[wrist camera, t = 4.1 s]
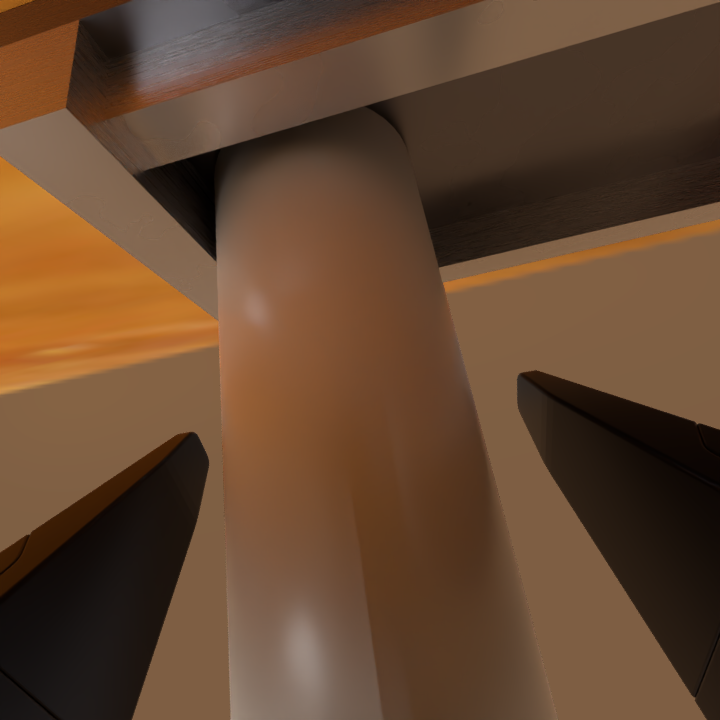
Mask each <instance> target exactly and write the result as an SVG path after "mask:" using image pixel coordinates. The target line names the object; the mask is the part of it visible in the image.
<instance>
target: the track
mask: <svg viewBox="0 0 720 720" xmlns="http://www.w3.org/2000/svg"><path fill="white" fill-rule="evenodd" d="M363 106H364V107H366V108H368V109H370V110H373V111H374V112H375V113H377V114H378V115H380V116H381V117H383V118H384V119H385V120H386V121H387V122H389V123H390V124H391V125H392V126H393V127H394V128H395V130H396V131H397V132H398V134H399V135H400V136H401V138H402V140H403V142H404V144H405V145H406V148H407V151H408V154H409V157H410V160H411V164H412V168H413V172H414V176H415V179H416V183H417V187H418V191H419V195H420V198H421V202H422V206H423V210H424V213H425V217H426V221H427V225H428V229H429V232H430V236H431V240H432V244H433V247H434V251H435V255H436V259H437V263H438V266H439V270H440V274H441V278H442V282H447V281H452V280H456V279H460V278H465V277H469V276H474V275H478V274H482V273H487V272H491V271H495V270H500V269H504V268H508V267H513V266H517V265H522V264H526V263H530V262H535V261H539V260H543V259H548V258H552V257H557V256H561V255H565V254H570V253H574V252H578V251H583V250H587V249H591V248H596V247H600V246H605V245H609V244H613V243H618V242H622V241H626V240H631V239H635V238H639V237H644V236H648V235H653V234H657V233H661V232H666V231H670V230H674V229H679V228H683V227H688V226H692V225H696V224H701V223H705V222H709V221H714V220H718V219H720V0H35V1H33V2H30V3H27V4H25V5H22V6H19V7H16V8H14V9H11V10H8V11H6V12H3V13H0V156H1V157H2V158H4V159H5V160H6V161H8V162H9V163H10V164H12V165H13V166H14V167H16V168H17V169H18V170H20V171H21V172H22V173H24V174H25V175H26V176H28V177H29V178H30V179H32V180H33V181H34V182H35V183H37V184H38V185H39V186H41V187H42V188H43V189H45V190H46V191H47V192H49V193H50V194H51V195H53V196H54V197H55V198H57V199H58V200H59V201H61V202H62V203H63V204H65V205H66V206H67V207H69V208H70V209H71V210H72V211H74V212H75V213H76V214H78V215H79V216H80V217H82V218H83V219H84V220H86V221H87V222H88V223H90V224H91V225H92V226H94V227H95V228H96V229H98V230H99V231H100V232H102V233H103V234H104V235H106V236H107V237H108V238H109V239H111V240H112V241H113V242H115V243H116V244H117V245H119V246H120V247H121V248H123V249H124V250H125V251H127V252H128V253H129V254H131V255H132V256H133V257H135V258H136V259H137V260H139V261H140V262H141V263H143V264H144V265H145V266H146V267H148V268H149V269H150V270H152V271H153V272H154V273H156V274H157V275H158V276H160V277H161V278H162V279H164V280H165V281H166V282H168V283H169V284H170V285H172V286H173V287H174V288H176V289H177V290H178V291H180V292H181V293H182V294H183V295H185V296H186V297H187V298H189V299H190V300H191V301H193V302H194V303H195V304H197V305H198V306H199V307H201V308H202V309H203V310H205V311H206V312H207V313H209V314H210V315H211V316H213V317H214V318H215V319H217V320H218V288H217V255H216V223H215V190H214V173H215V165H216V161H217V157H218V154H219V152H220V150H221V148H223V147H226V146H230V145H233V144H236V143H240V142H243V141H247V140H250V139H254V138H257V137H260V136H264V135H267V134H271V133H274V132H277V131H281V130H284V129H288V128H291V127H294V126H298V125H301V124H305V123H308V122H312V121H315V120H318V119H322V118H325V117H329V116H332V115H335V114H339V113H342V112H346V111H349V110H352V109H356V108H359V107H363Z"/></svg>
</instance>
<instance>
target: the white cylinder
mask: <svg viewBox="0 0 720 720" xmlns="http://www.w3.org/2000/svg"><path fill="white" fill-rule="evenodd" d="M214 190H215V223H216V255H217V288H218V321H219V351H220V385H221V418H222V447H223V448H222V450H223V484H224V513H225V514H224V517H225V549H226V580H227V581H226V582H227V612H228V645H229V646H228V647H229V679H230V712H231V720H558V717H557V713H556V709H555V705H554V701H553V698H552V694H551V690H550V686H549V683H548V679H547V675H546V671H545V667H544V664H543V660H542V656H541V652H540V649H539V645H538V641H537V637H536V634H535V630H534V626H533V622H532V618H531V614H530V611H529V607H528V603H527V599H526V596H525V592H524V588H523V584H522V581H521V577H520V573H519V569H518V565H517V562H516V558H515V554H514V551H513V546H512V543H511V539H510V535H509V531H508V528H507V524H506V520H505V516H504V513H503V509H502V505H501V501H500V497H499V494H498V490H497V486H496V482H495V478H494V475H493V471H492V467H491V463H490V459H489V456H488V452H487V448H486V444H485V440H484V437H483V433H482V429H481V425H480V422H479V418H478V414H477V410H476V406H475V403H474V399H473V395H472V392H471V387H470V384H469V380H468V377H467V372H466V369H465V365H464V361H463V357H462V354H461V350H460V346H459V342H458V338H457V335H456V331H455V327H454V323H453V319H452V316H451V312H450V308H449V304H448V301H447V297H446V293H445V289H444V285H443V282H442V278H441V274H440V270H439V266H438V263H437V259H436V255H435V251H434V247H433V244H432V240H431V236H430V232H429V229H428V225H427V221H426V217H425V213H424V210H423V206H422V202H421V198H420V195H419V191H418V187H417V183H416V179H415V176H414V172H413V168H412V164H411V160H410V157H409V154H408V151H407V148H406V145H405V144H404V142H403V140H402V138H401V136H400V135H399V134H398V132H397V131H396V130H395V128H394V127H393V126H392V125H391V124H390V123H389V122H387V121H386V120H385V119H384V118H383V117H381V116H380V115H378V114H377V113H375V112H374V111H373V110H370V109H368V108H366V107H364V106H363V107H359V108H356V109H352V110H349V111H346V112H342V113H339V114H335V115H332V116H329V117H325V118H322V119H318V120H315V121H312V122H308V123H305V124H301V125H298V126H294V127H291V128H288V129H284V130H281V131H277V132H274V133H271V134H267V135H264V136H260V137H257V138H254V139H250V140H247V141H243V142H240V143H236V144H233V145H230V146H226V147H223V148H221V150H220V152H219V154H218V157H217V161H216V165H215V173H214Z"/></svg>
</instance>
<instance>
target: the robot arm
mask: <svg viewBox="0 0 720 720" xmlns="http://www.w3.org/2000/svg"><path fill="white" fill-rule="evenodd" d="M517 401H518V402H517V403H518V409H519V412H520V414H521V416H522V418H523V420H524V422H525V424H526V427H527V429H528V431H529V433H530V435H531V437H532V439H533V441H534V443H535V445H536V447H537V449H538V452H539V453H540V456H541V458H542V460H543V462H544V464H545V465H546V467H547V469H548V470H549V472H550V474H551V475H552V477H553V479H554V480H555V482H556V483H557V485H558V486H559V488H560V490H561V491H562V493H563V494H564V496H565V497H566V499H567V500H568V502H569V504H570V505H571V507H572V508H573V510H574V511H575V513H576V514H577V516H578V518H579V519H580V521H581V522H582V524H583V525H584V527H585V529H586V530H587V532H588V533H589V535H590V536H591V538H592V539H593V541H594V543H595V544H596V546H597V548H598V549H599V551H600V552H601V554H602V555H603V557H604V558H605V560H606V562H607V563H608V565H609V566H610V568H611V569H612V571H613V573H614V574H615V576H616V577H617V579H618V581H619V582H620V584H621V585H622V587H623V588H624V590H625V591H626V593H627V595H628V596H629V598H630V599H631V601H632V602H633V604H634V605H635V607H636V609H637V610H638V612H639V613H640V615H641V617H642V618H643V620H644V621H645V623H646V624H647V626H648V628H649V629H650V631H651V632H652V634H653V635H654V637H655V639H656V640H657V642H658V643H659V645H660V646H661V648H662V650H663V651H664V653H665V654H666V656H667V657H668V659H669V660H670V662H671V663H672V665H673V667H674V668H675V670H676V671H677V673H678V675H679V676H680V678H681V679H682V681H683V682H684V684H685V686H686V687H687V689H688V690H689V692H690V693H691V695H692V696H693V697H695V701H696V703H697V705H698V707H699V708H700V710H701V711H702V713H703V714H704V716H705V718H706V719H707V720H720V430H719V429H716V428H713V427H710V426H707V425H703V424H696V423H695V422H694V421H691V420H688V419H685V418H682V417H679V416H676V415H672V414H670V413H667V412H663V411H660V410H657V409H654V408H651V407H648V406H645V405H642V404H639V403H635V402H632V401H630V400H626V399H623V398H620V397H617V396H614V395H611V394H608V393H605V392H601V391H598V390H595V389H593V388H589V387H586V386H583V385H580V384H577V383H574V382H571V381H568V380H565V379H561V378H558V377H556V376H553V375H549V374H546V373H543V372H540V371H537V370H535V371H529V372H523V373H520V374H519V375H518V378H517ZM208 468H209V459H208V456H207V454H206V451H205V449H204V447H203V445H202V443H201V441H200V439H199V437H198V435H197V434H196V433H194V432H187V433H182V434H178V435H176V436H174V437H173V438H171V439H170V440H168V441H167V442H165V443H164V444H162V445H161V446H160V447H158V448H156V449H155V450H153V451H152V452H150V453H149V454H147V455H146V456H145V457H143V458H141V459H140V460H138V461H137V462H135V463H134V464H132V465H131V466H129V467H128V468H126V469H125V470H123V471H122V472H120V473H119V474H117V475H116V476H114V477H113V478H111V479H110V480H108V481H107V482H105V483H104V484H102V485H101V486H99V487H98V488H96V489H95V490H93V491H92V492H90V493H89V494H87V495H86V496H84V497H83V498H81V499H80V500H78V501H77V502H75V503H74V504H72V505H71V506H70V507H68V508H67V509H65V510H63V511H62V512H60V513H59V514H57V515H56V516H54V517H53V518H51V519H50V520H48V521H47V522H45V523H44V524H42V525H41V526H39V527H38V528H36V529H35V530H33V531H32V532H31V534H30V535H26V536H24V537H23V538H21V539H20V540H18V541H17V542H16V543H14V544H12V545H11V546H9V547H8V548H6V549H5V550H3V551H2V552H0V720H132V718H133V715H134V712H135V709H136V706H137V702H138V699H139V696H140V693H141V690H142V687H143V684H144V681H145V678H146V675H147V672H148V669H149V666H150V663H151V660H152V657H153V654H154V651H155V648H156V645H157V642H158V639H159V636H160V633H161V630H162V627H163V624H164V621H165V617H166V614H167V611H168V608H169V605H170V602H171V599H172V596H173V593H174V590H175V587H176V584H177V581H178V578H179V575H180V572H181V569H182V566H183V562H184V560H185V557H186V554H187V550H188V548H189V545H190V542H191V539H192V535H193V532H194V529H195V525H196V522H197V518H198V515H199V510H200V505H201V501H202V496H203V491H204V487H205V482H206V477H207V473H208Z"/></svg>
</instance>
